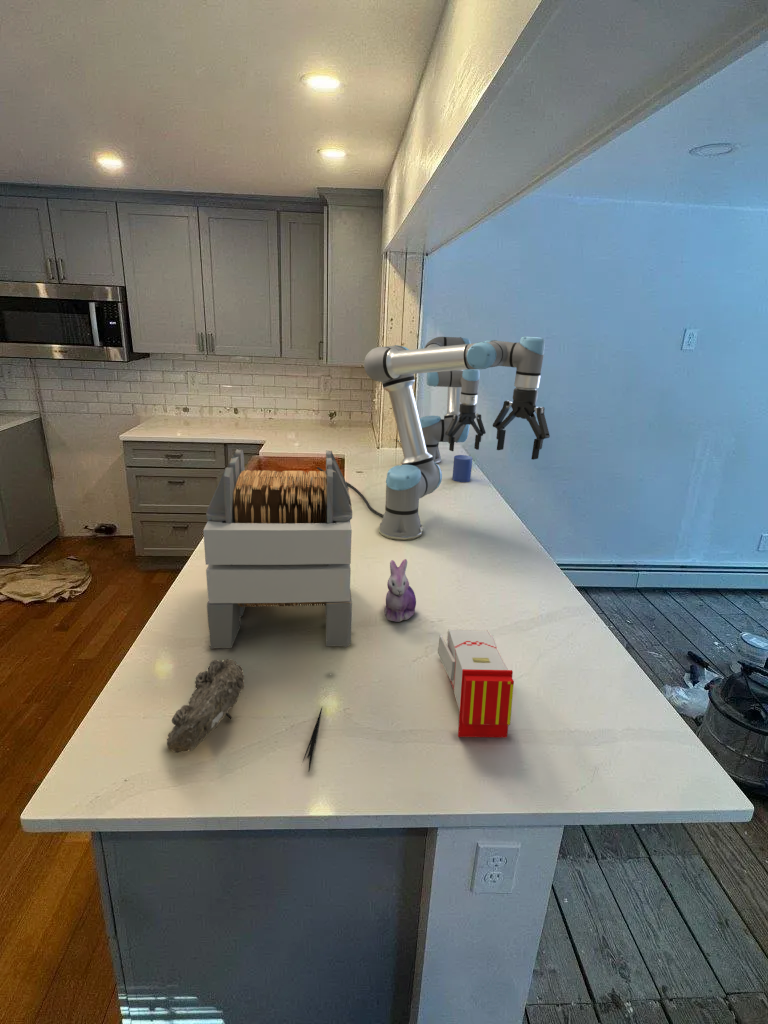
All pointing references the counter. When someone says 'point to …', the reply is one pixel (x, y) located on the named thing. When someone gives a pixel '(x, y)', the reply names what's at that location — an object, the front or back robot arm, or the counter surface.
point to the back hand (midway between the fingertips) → (464, 449)
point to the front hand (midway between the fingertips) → (516, 454)
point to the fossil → (206, 705)
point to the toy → (478, 682)
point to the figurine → (399, 594)
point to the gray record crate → (278, 547)
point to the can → (462, 468)
